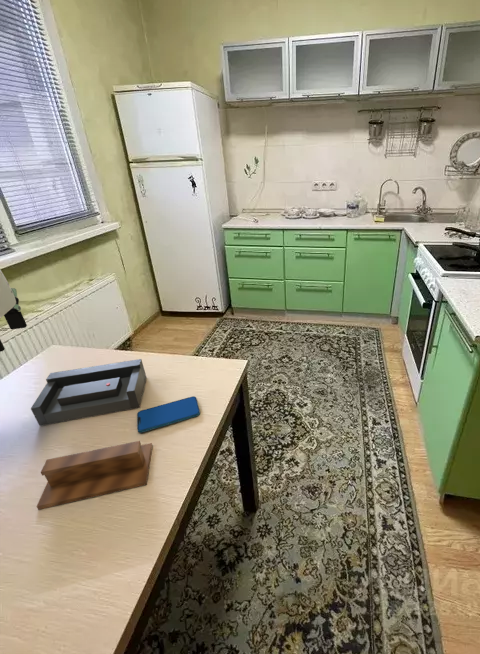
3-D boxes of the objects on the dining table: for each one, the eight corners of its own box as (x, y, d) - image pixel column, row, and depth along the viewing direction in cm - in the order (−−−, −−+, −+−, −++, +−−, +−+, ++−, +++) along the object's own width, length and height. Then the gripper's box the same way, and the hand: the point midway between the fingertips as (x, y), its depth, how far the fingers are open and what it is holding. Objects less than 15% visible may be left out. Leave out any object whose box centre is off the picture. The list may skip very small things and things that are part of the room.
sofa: (39, 426, 82) (28, 405, 79) (58, 392, 93) (50, 372, 90) (139, 407, 87) (133, 387, 84) (146, 377, 98) (141, 358, 95)
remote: (60, 406, 83) (56, 398, 82) (67, 393, 88) (63, 385, 87) (118, 396, 86) (115, 388, 85) (122, 384, 91) (119, 376, 89)
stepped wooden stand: (38, 509, 63) (26, 490, 60) (57, 465, 72) (48, 446, 69) (146, 484, 67) (139, 465, 64) (152, 445, 76) (147, 427, 73)
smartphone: (200, 413, 83) (137, 432, 78) (200, 416, 84) (138, 434, 78) (195, 395, 89) (137, 411, 84) (196, 397, 90) (137, 414, 85)
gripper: (-25, 253, 69) (8, 322, 77) (-87, 283, 54) (-38, 365, 62) (15, 249, 71) (44, 318, 78) (-34, 278, 56) (7, 359, 63)
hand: (8, 339), depth 70 cm, fingers open, 9 cm apart
